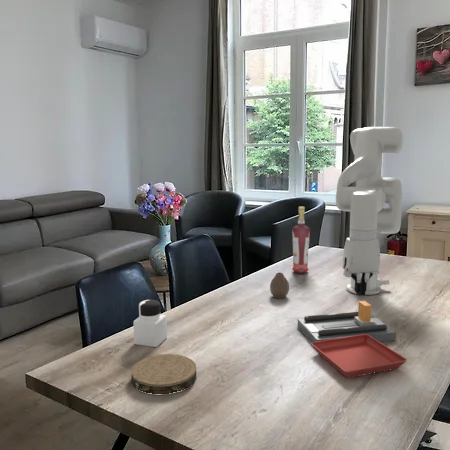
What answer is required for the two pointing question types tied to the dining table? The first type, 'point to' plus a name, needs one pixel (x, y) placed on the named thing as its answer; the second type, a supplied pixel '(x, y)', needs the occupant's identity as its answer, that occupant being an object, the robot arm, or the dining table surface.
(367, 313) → the breaker lever
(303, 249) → the liquor
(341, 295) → the dining table surface
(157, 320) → the medicine bottle
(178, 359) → the round wood slice
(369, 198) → the robot arm
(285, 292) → the vase
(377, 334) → the switch panel
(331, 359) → the plant saucer
